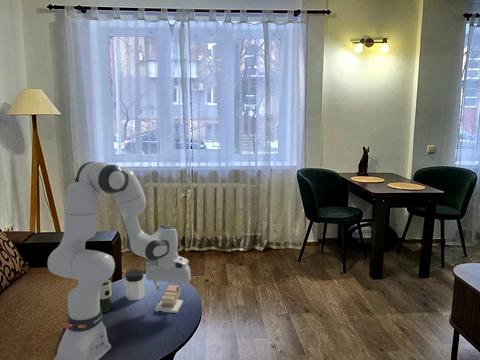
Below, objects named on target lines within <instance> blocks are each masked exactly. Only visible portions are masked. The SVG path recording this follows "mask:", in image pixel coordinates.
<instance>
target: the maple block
mask: <svg viewBox="0 0 480 360" xmlns="http://www.w3.org/2000/svg"><path fill="white" fill-rule="evenodd" d="M177 300H178V299H177V293H170V292H164V294H163V295H162V296H161V300H160V301H162V307H168V308H174V306H175V305H176V303H177Z"/></svg>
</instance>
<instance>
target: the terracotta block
mask: <svg viewBox="0 0 480 360" xmlns="http://www.w3.org/2000/svg"><path fill="white" fill-rule="evenodd" d="M178 286H180V285H179V284H178V285H177V284H176V285H175V284H168V287H166V290H165V291H166V292H170V293H177V300H179V298H180V296H181V291H180V292H178V291H176V288H177V287H178Z"/></svg>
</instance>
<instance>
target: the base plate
mask: <svg viewBox="0 0 480 360" xmlns="http://www.w3.org/2000/svg"><path fill="white" fill-rule="evenodd" d="M183 303H184V300H183V299H177V303H176V305H175V306H174V308H168V307H162V301H161V300H160V302H159V303H158V304H157V306H156V308H155V310H154V311H155V312H158V311H162V312H161V313H175V314H177V313H178V312H179V309H180V308H181V306H182V305H183Z"/></svg>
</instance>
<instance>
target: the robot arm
mask: <svg viewBox="0 0 480 360" xmlns="http://www.w3.org/2000/svg"><path fill="white" fill-rule="evenodd" d="M74 181H75V182H73V183H70V185H69V186H68V187H67V188H66V193H65V200H64V221H63V222H64V227H63V236H62V239H61V241H60V243H59V245H58V246H57V247H56V248H55V249H54V250H53V251H52V252H51V253H50V254H49V256H48V258H47V268H48V270H49V272H50V273H51V274H53V275H57V276H59V277H60V278H66V279H73V280H77V283H78V285H77V286H76V287H74V288H73V289H72V290H71V291H70V292H69V294H68V296H67V306H68V314H67V319H66V321H65V322H64V323H63V324H62V328H63V329H66V330H65V331H64V333H63V335H62V337H61V340H60V341H59V345H58V347H57V353H56V355H55V356H54V358H53V360H100V359H101V358H102V357H103V356H105V354H106V353H107V352H109V350H111V349H112V344H111V343H110V342H109V340H108V335H107V330H106V329H107V327H106V325H104V322H103V321H102V320H103V312H102V311H101V308H100V289H101V287H102V285H103V283H104V282H105V281H107V280H109V279H110V278H111V277H112V276H113V274H114V273H115V268H116V263H115V259H114V257H113V256H112V255H110V254H108V253H106V252H102V251H99V250H92V249H86V242H87V241H88V240H90V239H91V238H93V237H94V236H96V233H97V232H98V203H97V202H98V199H99V198H98V197H99V196H100V194H101V193H105V194H110V195H111V194H113V195H114V197H115V201H116V203H117V205H118V208H119V211H120V212H119V213H120V217H121V219H122V224H123V228H124V229H125V232H126V237H127V240H126V241H127V249H128V250H129V252H130V253H131V254H133V255H137V256H139V257H142V258H144V259H146V260H147V261H146V262H145V268H146V270H145V279H146V280H147V281H151V282H153V284H154V285H155V290H156V291H160V290H161V284H159V282H166V283H178V285H180V286H178V287H177V288H176V291H178V292H180V293H181V292H182V291H181V290H182V285H183V284H189V282H190V281H191V279H192V274H191V268H190V266H189V259H187V258H186V257H183V256H180V255H179V252H178V246H179V237H178V231H177V229H176V228H175V227H174V226H171V225H167V224H166V225H163V224H162V225H159V226H158V229H157V230H156V231H155V232H154V233H153V234H151V235H149V234H147V233H146V232H144V231H143V230H142V228H141V225H140V222H139V218H138V215H140V214H141V213H142V212H144V210H145V209H146V207H147V199H146V198H147V197H146V194H145V192H144V189H143V187H142V184H141V182H140V180H139V178H138V177H137V175H136V174H135V173H134V171H133V170H131V169H128V168H121V167H120V166H118V165H115V164H109V163H107V162H101V161H99V162H98V161H97V162H96V161H88V162H85V163H83V164H82V165H80V167H79V168H78V170H77V172H76V177H75V179H74Z"/></svg>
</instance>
